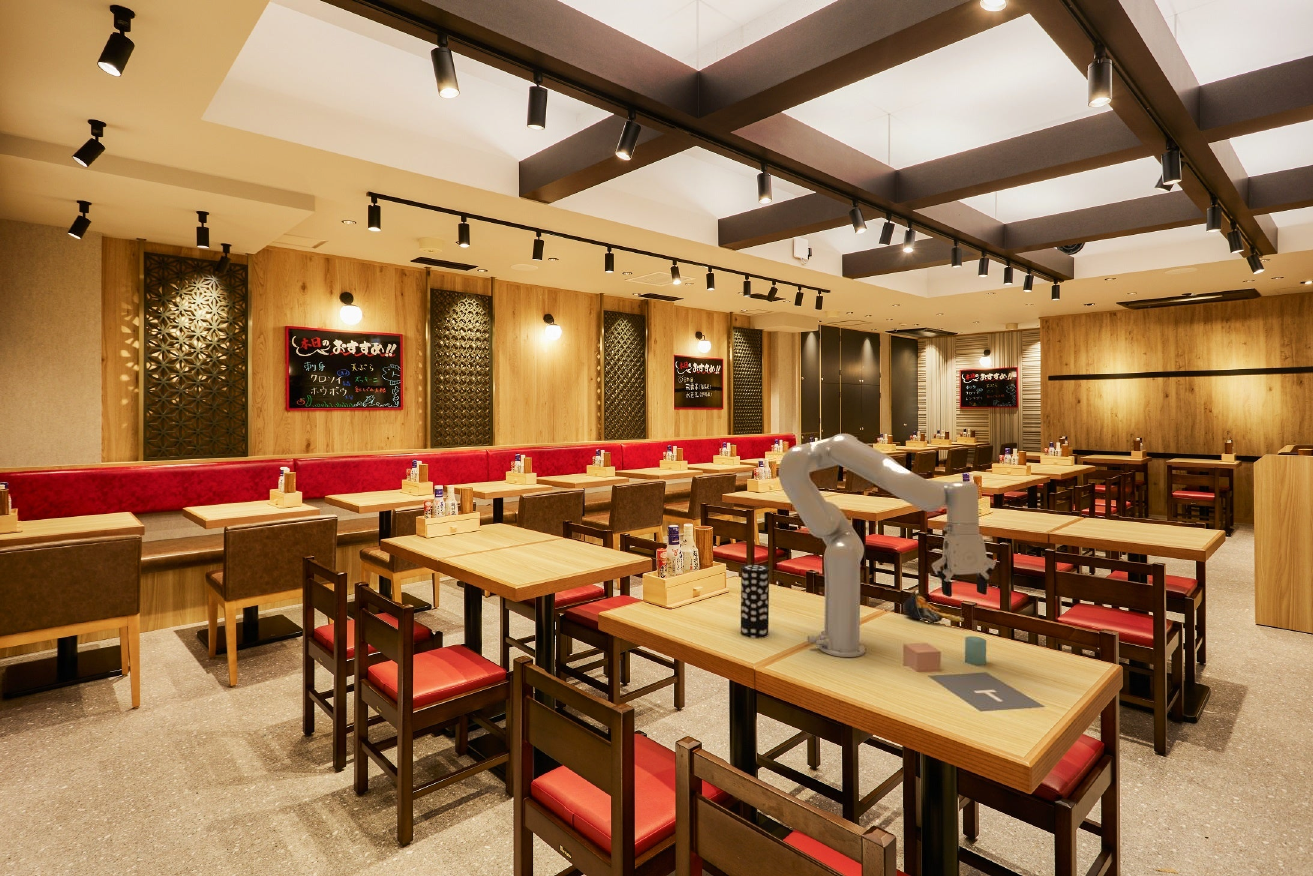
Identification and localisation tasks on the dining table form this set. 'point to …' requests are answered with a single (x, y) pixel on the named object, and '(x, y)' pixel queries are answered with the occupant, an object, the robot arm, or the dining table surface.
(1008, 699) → the board
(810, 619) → the dining table surface
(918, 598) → the black and orange piece
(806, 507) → the robot arm
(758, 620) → the spotted tube
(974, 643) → the cylinder
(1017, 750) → the dining table surface
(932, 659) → the block
